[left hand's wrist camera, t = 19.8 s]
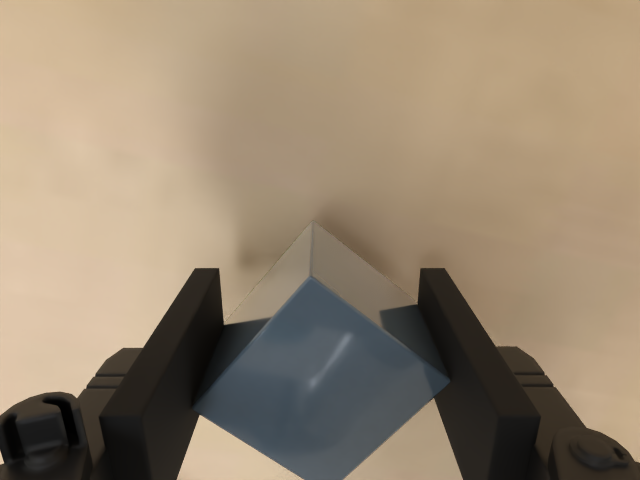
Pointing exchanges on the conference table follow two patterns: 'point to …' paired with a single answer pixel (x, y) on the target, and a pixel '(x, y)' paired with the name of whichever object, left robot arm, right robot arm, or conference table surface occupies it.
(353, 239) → the conference table surface
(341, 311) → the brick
